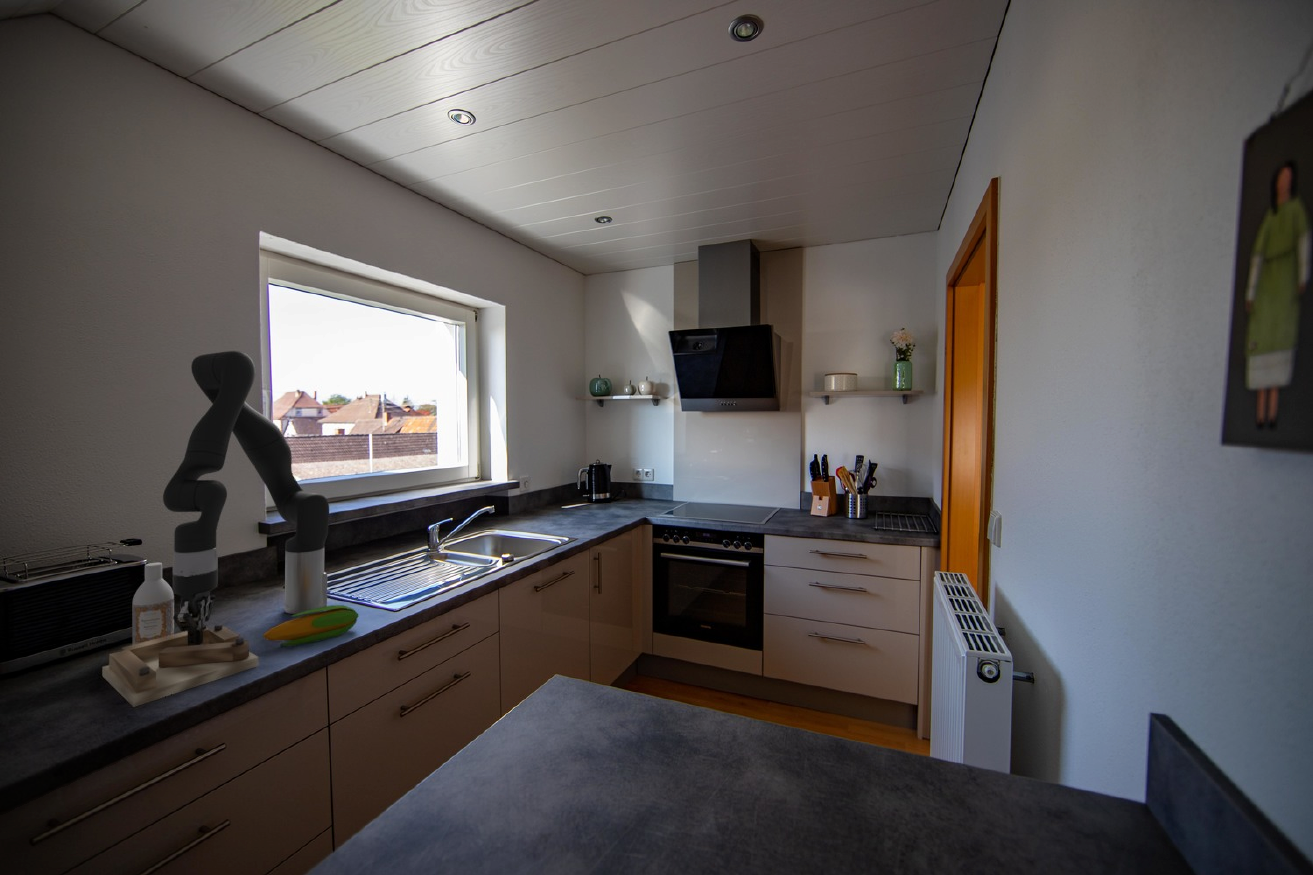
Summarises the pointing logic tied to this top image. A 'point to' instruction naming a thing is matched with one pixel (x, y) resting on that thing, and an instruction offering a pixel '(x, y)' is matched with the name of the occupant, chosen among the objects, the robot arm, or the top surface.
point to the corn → (314, 625)
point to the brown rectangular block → (204, 653)
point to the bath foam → (152, 607)
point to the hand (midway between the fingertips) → (195, 645)
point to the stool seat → (147, 682)
